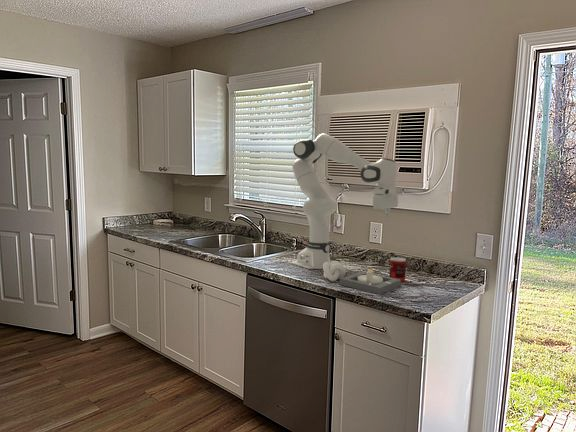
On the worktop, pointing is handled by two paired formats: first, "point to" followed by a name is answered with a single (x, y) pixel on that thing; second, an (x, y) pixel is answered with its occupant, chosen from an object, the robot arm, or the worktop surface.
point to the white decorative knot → (333, 270)
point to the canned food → (397, 268)
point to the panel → (380, 288)
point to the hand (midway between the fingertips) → (385, 216)
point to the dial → (370, 278)
